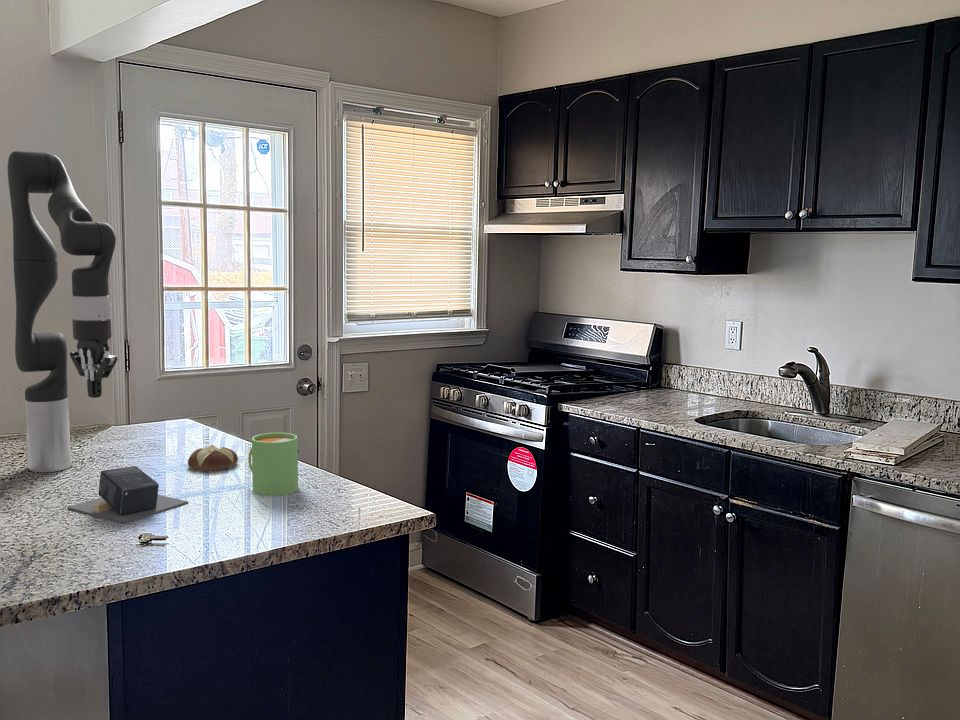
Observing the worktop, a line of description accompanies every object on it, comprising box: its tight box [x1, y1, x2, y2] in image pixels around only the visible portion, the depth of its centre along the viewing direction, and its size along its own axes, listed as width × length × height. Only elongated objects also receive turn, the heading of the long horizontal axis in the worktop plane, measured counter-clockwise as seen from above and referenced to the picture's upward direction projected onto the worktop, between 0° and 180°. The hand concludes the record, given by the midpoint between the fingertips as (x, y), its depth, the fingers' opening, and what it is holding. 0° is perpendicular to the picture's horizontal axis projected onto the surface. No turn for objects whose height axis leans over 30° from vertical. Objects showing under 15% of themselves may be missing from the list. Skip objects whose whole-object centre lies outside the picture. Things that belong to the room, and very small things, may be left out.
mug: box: [247, 432, 300, 497], centre depth 197 cm, size 13×10×12 cm
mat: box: [66, 494, 189, 525], centre depth 183 cm, size 18×16×2 cm
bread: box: [187, 444, 239, 473], centre depth 215 cm, size 11×11×5 cm
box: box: [98, 465, 160, 514], centre depth 180 cm, size 8×6×11 cm
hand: (94, 396), depth 186 cm, fingers closed
